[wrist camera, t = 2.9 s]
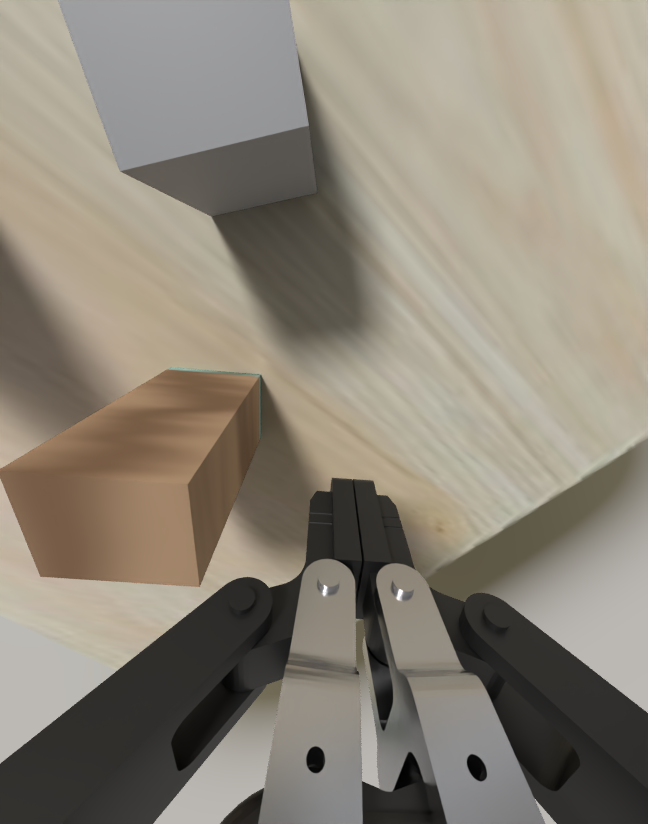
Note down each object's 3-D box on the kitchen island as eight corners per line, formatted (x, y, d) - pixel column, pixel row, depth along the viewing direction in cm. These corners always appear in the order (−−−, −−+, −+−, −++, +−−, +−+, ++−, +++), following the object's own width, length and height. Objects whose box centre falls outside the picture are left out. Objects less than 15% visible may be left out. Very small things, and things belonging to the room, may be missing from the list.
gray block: (293, 41, 12) (254, -220, 6) (317, 193, 14) (308, 125, 8) (171, 73, 13) (8, -135, 6) (211, 216, 15) (119, 171, 8)
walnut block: (260, 374, 18) (187, 484, 8) (260, 437, 19) (199, 586, 10) (170, 367, 17) (-3, 470, 8) (178, 431, 19) (40, 576, 10)
